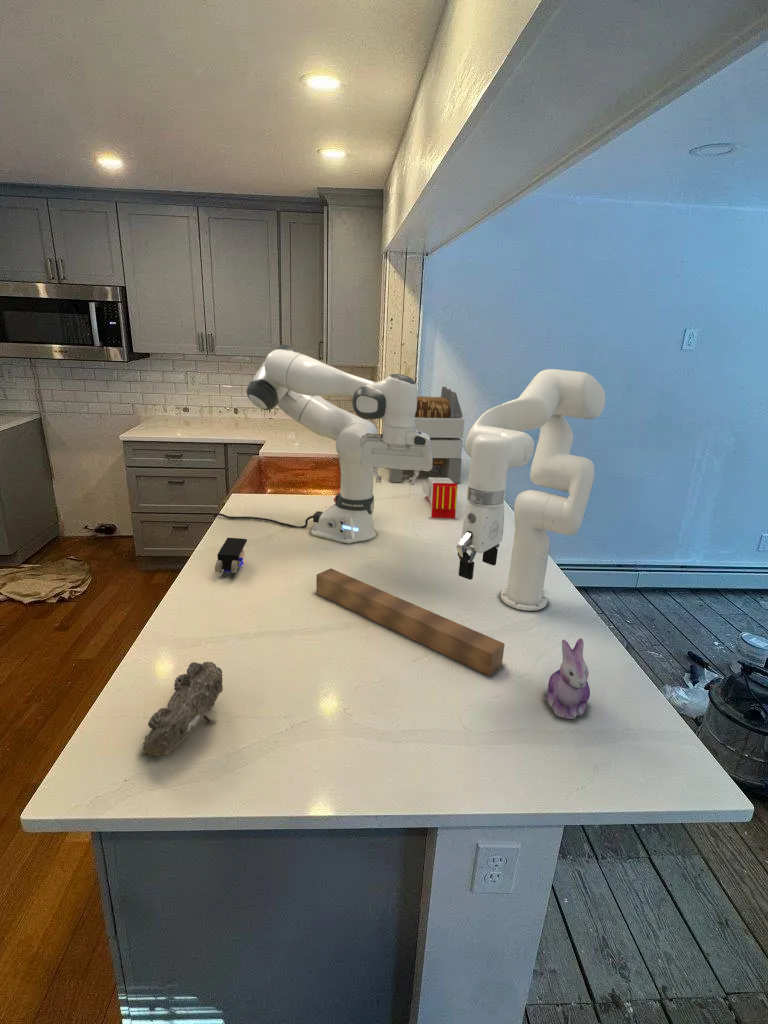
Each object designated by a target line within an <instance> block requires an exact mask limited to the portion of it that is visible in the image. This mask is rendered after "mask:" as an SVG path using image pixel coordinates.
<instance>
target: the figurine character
mask: <svg viewBox="0 0 768 1024" xmlns="http://www.w3.org/2000/svg"><path fill="white" fill-rule="evenodd" d="M247 542H248V538H240V537H226V539H225V541H224V543H223V544H222V546H221V547H220V549H219V551H218V552H217V560H216V562H215V564H214V572H215V573H221V577H222V578H224V577H225V576H226V574H227V573H230V574H231V573H232V574H231V578H234V577H235V575H236V573H237V572H239V571H240V567H242V566H243V565H244V564H245V562H244V558H245V551H244V547H245V546H246V544H247Z"/></svg>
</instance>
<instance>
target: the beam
mask: <svg viewBox="0 0 768 1024" xmlns="http://www.w3.org/2000/svg"><path fill="white" fill-rule="evenodd" d="M315 576H316V578H315V579H316V581H315V582H316V583H315V584H316V585H315V587H316V591H315V593H316V594H317V595H319V596H321V597H323V598H325V599H327V600H330V601H331V602H334V603H336V604H338V605H339V606H342V607H344V608H346V609H348V610H350V611H352V612H354V613H357V614H359V615H360V616H362V617H364V618H367V619H369V620H371V621H373V622H375V623H377V624H379V625H382V626H384V627H385V628H387V629H389V630H392V631H393V632H396V633H397V634H400V635H402V636H404V637H406V638H409V639H410V640H412V641H415V642H417V643H419V644H421V645H423V646H425V647H427V648H429V649H431V650H433V651H435V652H437V653H440V654H441V655H443V656H445V657H448V658H450V659H452V660H454V661H456V662H458V663H460V664H462V665H465V666H467V667H469V668H470V669H473V670H475V671H477V672H479V673H481V674H483V675H485V676H487V677H491V676H492V675H493V674H494V673H495V672H496V671H497V670H499V669H500V668H501V667H502V666H503V660H504V659H503V658H504V652H505V645H506V644H505V643H504V642H502V641H500V640H498V639H496V638H493V637H490V636H489V635H486V634H484V633H481V632H480V631H477V630H474V629H473V628H470V627H467V626H465V625H464V624H461V623H458V622H456V621H453V620H452V619H449V618H448V617H444V616H442V615H440V614H437V613H436V612H433V611H430V610H428V609H426V608H423V607H422V606H419V605H417V604H414V603H412V602H410V601H407V600H405V599H404V598H400V597H399V596H396V595H394V594H392V593H389V592H387V591H384V590H382V589H379V588H377V587H375V586H373V585H371V584H368V583H366V582H364V581H361V580H359V579H357V578H354V577H352V576H350V575H348V574H346V573H343V572H340V571H338V570H336V569H334V568H328V569H326V570H323V571H321V572H319V573H317V574H316V575H315Z"/></svg>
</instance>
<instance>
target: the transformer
mask: <svg viewBox="0 0 768 1024" xmlns="http://www.w3.org/2000/svg"><path fill="white" fill-rule="evenodd" d="M440 393H441V394H440V396H418V395H417V409H416V413H415V416H414V420H415V429H416V430H418V431H421V432H423V433H426V434H428V435H429V437H430V444H429V445H430V446H431V450H432V458H433V466H432V467H436V468H437V470H438V469H439V473H440V474H441V475H443V478H449V479H450V480H451V481H452V482H453V483H454V484H459V483H461V472H462V461H463V460H462V453H463V442H464V441H463V440H462V439H463V438H464V431H465V430H464V429H465V419H464V418H463V411H462V408H461V405H460V402H459V398H458V395H457V392H455V391H453V390H452V389H451V388H447V386H442V387H441V392H440ZM403 475H404V469H390V468H389V475H388V476H389V477H388V478H389V480H390V482H391V483H402V482H403Z"/></svg>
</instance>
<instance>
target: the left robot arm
mask: <svg viewBox="0 0 768 1024" xmlns="http://www.w3.org/2000/svg"><path fill="white" fill-rule="evenodd" d="M245 391H246V392H245V393H246V395H247V396H246V397H247V399H248V400H249V401H250V402H251V403H252V404H253V405H254V406H255V407H257V408H259V409H262V410H264V411H271V410H273V409H274V408H276V407H277V406H278V407H279V409H281V410H282V412H284V413H285V414H286V415H287V416H288V417H290V419H293V420H294V421H295V422H298V423H299V424H300V425H302V427H305V428H306V429H308V430H310V431H311V432H313V433H314V434H316V435H318V436H321V437H324V438H327V439H331V440H333V441H335V451H336V453H337V458H338V464H339V471H340V490H339V491H338V492H337V494H336V495H335V496H334V497H333V502H334V504H333V505H331V506H329V507H328V508H326V509H325V510H323V511H321V510H317V511H316V512H314V514H312V515H310V516H308V517H307V518H306V519H305V521H304V525H301V526H299V525H294V524H290V523H286V522H281V521H279V520H276V519H275V520H274V519H271V518H265V517H257V516H229V515H226V514H224V513H221V512H219V513H215V514H214V515H213V518H216V517H217V516H220V517H223V518H226V519H231V520H260V521H264V522H271V523H274V524H278V525H280V526H285V527H290V528H296V529H305V528H307V527H308V521H309V520H311V519H312V523H315V524H314V525H313V526H312V528H311V530H310V533H311V536H315V537H319V538H323V539H326V540H330V541H336V542H339V543H343V544H352V543H357V542H365V541H368V540H372V539H373V538H375V537H376V535H377V532H376V528H375V523H374V513H373V512H374V509H375V496H374V477H375V483H377V484H381V483H382V475H379V473H378V469H389V470H390V469H403V470H405V471H406V470H407V471H413V476H412V477H408V478H409V479H408V480H409V481H408V485H409V486H415V482H416V481H415V480H416V479H417V478H418V477H419V475H420V472H421V471H422V472H430V471H431V470H432V469H433V467H434V466H433V458H432V450H431V446H430V445H429V444H430V437H429V435H428V434H426V433H423V432H421V431H418V430H416V429H415V420H414V416H415V413H416V409H417V396H418V387H417V383H416V381H415V380H414V379H413V378H412V377H410V376H408V375H405V374H399V373H391V374H389V375H388V376H386V377H385V378H383V379H381V380H380V381H379V380H378V381H375V380H372V379H369V378H365V377H362V376H359V375H356V374H353V373H349V372H348V371H347V372H346V371H343V370H341V369H339V368H336V367H334V366H331V365H329V364H327V363H325V362H322V361H320V360H318V359H315V358H313V357H311V356H309V355H306V354H303V353H300V352H299V351H298V350H297V349H296V348H295V347H293V346H291V345H290V344H289V345H288V344H280V345H278V346H277V347H275V348H274V349H273V350H272V351H270V352H269V353H268V354H267V355H266V357H265V360H264V361H263V362H262V363H261V364H260V367H259V369H258V370H257V372H256V373H255V375H254V377H253V379H252V380H251V381H250V382H249V383H248V385H247V388H246V390H245ZM327 395H344V396H348V397H351V398H352V399H351V404H352V409H353V411H354V413H355V414H354V413H353V412H350V411H348V410H345V409H342V408H340V407H339V406H336V405H335V404H333V403H331V402H330V401H328V400H327V399H325V398H323V396H327ZM372 420H381V421H382V433H379V430H378V428H377V426H376V424H375V423H373V421H372Z"/></svg>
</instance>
